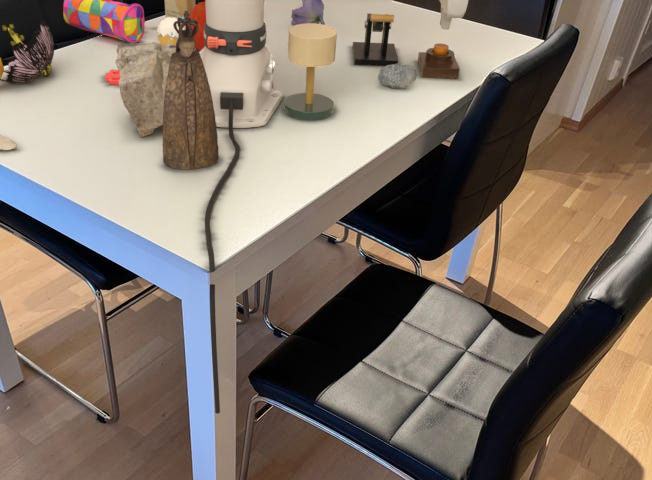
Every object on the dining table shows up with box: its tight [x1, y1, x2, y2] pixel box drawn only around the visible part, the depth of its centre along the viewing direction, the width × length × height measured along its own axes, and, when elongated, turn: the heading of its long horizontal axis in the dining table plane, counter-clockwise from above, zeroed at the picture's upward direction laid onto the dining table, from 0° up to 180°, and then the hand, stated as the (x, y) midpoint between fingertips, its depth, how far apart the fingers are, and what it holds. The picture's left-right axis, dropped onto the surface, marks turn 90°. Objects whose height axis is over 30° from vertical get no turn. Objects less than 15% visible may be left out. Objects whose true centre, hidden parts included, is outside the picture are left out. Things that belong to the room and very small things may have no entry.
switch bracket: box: [352, 13, 399, 67], centre depth 158 cm, size 12×10×9 cm
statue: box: [162, 11, 220, 170], centre depth 110 cm, size 9×8×25 cm
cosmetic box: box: [164, 0, 197, 27], centre depth 161 cm, size 6×4×12 cm
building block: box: [105, 69, 120, 87], centre depth 146 cm, size 1×8×8 cm
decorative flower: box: [0, 20, 55, 85], centre depth 141 cm, size 15×12×15 cm
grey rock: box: [377, 62, 418, 89], centre depth 146 cm, size 8×4×5 cm, turn 89°
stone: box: [114, 41, 176, 138], centre depth 126 cm, size 13×17×15 cm
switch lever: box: [370, 13, 395, 33], centre depth 152 cm, size 11×5×2 cm, turn 177°
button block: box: [417, 47, 461, 80], centre depth 154 cm, size 10×8×4 cm
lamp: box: [283, 23, 338, 121], centre depth 132 cm, size 10×10×15 cm
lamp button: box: [433, 42, 450, 55], centre depth 153 cm, size 3×3×2 cm
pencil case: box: [62, 0, 146, 44], centre depth 164 cm, size 22×9×9 cm
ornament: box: [156, 16, 186, 46], centre depth 158 cm, size 7×7×8 cm
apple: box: [189, 1, 206, 52], centre depth 157 cm, size 11×11×11 cm
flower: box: [290, 0, 326, 26], centre depth 172 cm, size 9×9×10 cm
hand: (444, 27), depth 150 cm, fingers closed
